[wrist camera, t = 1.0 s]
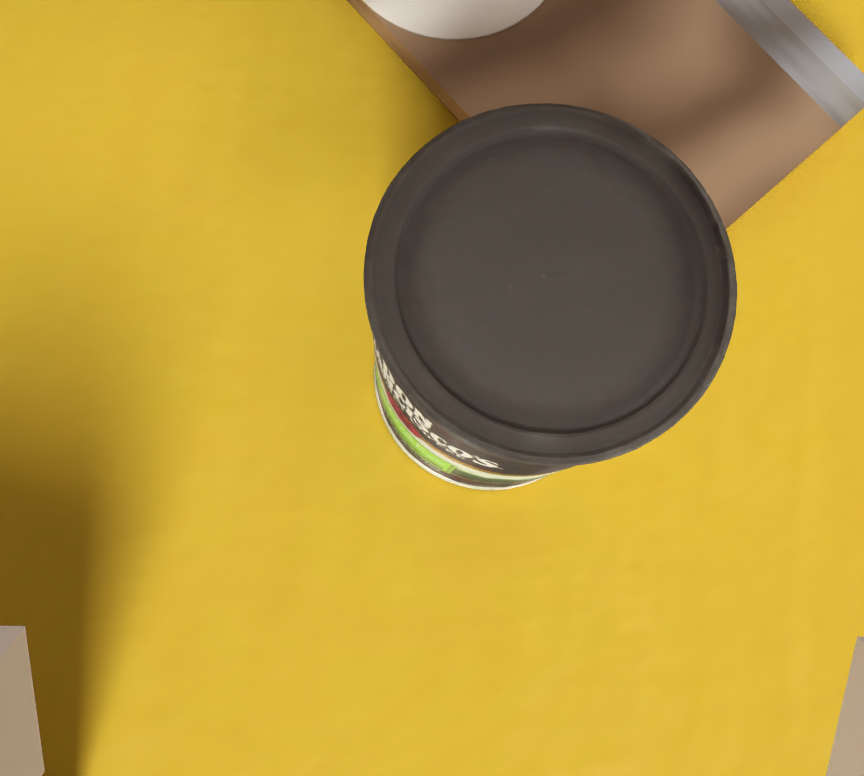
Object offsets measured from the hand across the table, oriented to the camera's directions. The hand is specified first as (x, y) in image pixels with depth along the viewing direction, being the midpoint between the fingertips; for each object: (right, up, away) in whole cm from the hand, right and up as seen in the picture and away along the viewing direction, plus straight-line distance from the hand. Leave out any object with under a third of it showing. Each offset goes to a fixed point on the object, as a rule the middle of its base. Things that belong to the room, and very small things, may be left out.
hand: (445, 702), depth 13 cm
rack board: (+6, +23, +26) cm, 35 cm away
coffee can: (+2, +6, +23) cm, 24 cm away
